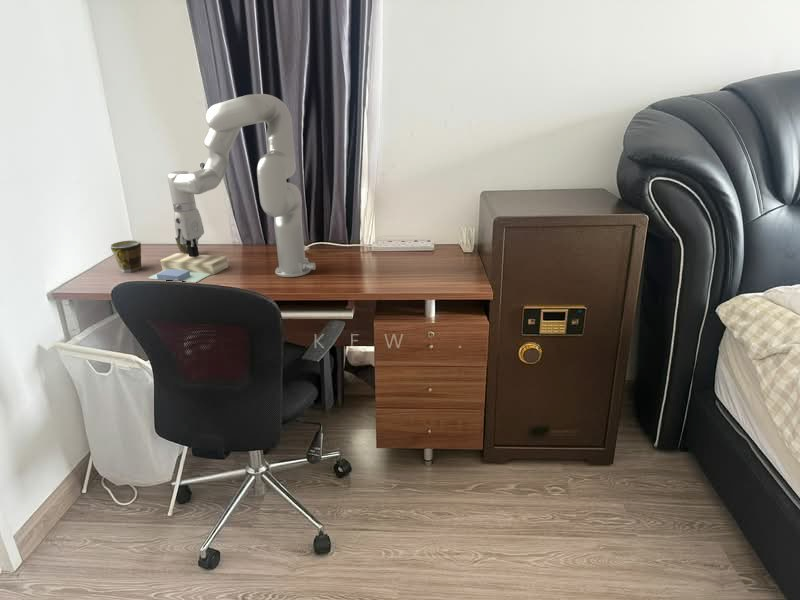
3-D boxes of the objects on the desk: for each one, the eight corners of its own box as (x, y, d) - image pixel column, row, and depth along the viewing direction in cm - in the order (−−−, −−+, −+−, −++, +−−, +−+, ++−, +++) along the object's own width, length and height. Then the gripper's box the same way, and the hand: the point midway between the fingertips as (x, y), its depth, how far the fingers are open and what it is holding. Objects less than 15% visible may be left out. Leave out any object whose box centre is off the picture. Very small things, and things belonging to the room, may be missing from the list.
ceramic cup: (123, 266, 199) (116, 240, 195) (149, 264, 199) (144, 239, 196) (108, 277, 187) (101, 250, 183) (137, 276, 187) (131, 249, 184)
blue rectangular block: (178, 276, 179) (179, 281, 180) (189, 270, 184) (190, 276, 185) (156, 274, 181) (157, 279, 182) (168, 268, 187) (169, 274, 187)
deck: (228, 266, 194) (226, 256, 193) (213, 274, 186) (211, 264, 185) (178, 263, 200) (176, 253, 199) (162, 270, 192) (160, 260, 191)
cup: (198, 252, 213) (195, 233, 210) (198, 257, 207) (194, 237, 204) (179, 254, 211) (175, 235, 208) (178, 259, 205) (174, 239, 202)
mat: (211, 274, 187) (211, 273, 187) (195, 283, 179) (195, 282, 179) (164, 270, 192) (164, 269, 192) (147, 278, 184) (147, 278, 184)
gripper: (180, 211, 177) (190, 263, 184) (206, 202, 191) (214, 251, 198) (161, 211, 179) (172, 261, 186) (189, 202, 193) (198, 250, 200)
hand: (194, 256), depth 192 cm, fingers closed
